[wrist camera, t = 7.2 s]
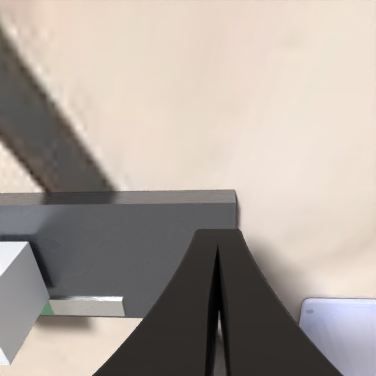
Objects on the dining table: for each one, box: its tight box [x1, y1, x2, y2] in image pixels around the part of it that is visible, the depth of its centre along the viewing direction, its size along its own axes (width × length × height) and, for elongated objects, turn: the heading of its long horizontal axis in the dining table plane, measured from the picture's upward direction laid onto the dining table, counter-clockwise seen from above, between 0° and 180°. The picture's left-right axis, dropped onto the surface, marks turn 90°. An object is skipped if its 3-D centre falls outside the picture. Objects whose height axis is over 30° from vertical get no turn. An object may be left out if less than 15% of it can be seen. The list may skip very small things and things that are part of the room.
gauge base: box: [0, 190, 236, 320], centre depth 20 cm, size 24×10×8 cm, turn 93°
